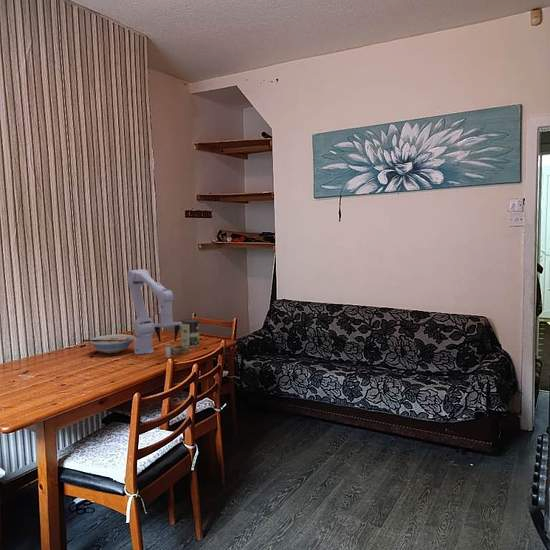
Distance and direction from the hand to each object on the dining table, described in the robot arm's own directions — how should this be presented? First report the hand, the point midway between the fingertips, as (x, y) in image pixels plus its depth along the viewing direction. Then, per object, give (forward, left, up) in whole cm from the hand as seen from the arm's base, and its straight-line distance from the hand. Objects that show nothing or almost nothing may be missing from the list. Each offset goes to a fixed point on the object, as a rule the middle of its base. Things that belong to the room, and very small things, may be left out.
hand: (167, 341), depth 247 cm
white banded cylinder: (0, 0, -8) cm, 8 cm away
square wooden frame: (+6, +8, -8) cm, 13 cm away
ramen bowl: (-28, +22, -9) cm, 37 cm away
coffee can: (+13, +23, -8) cm, 28 cm away
